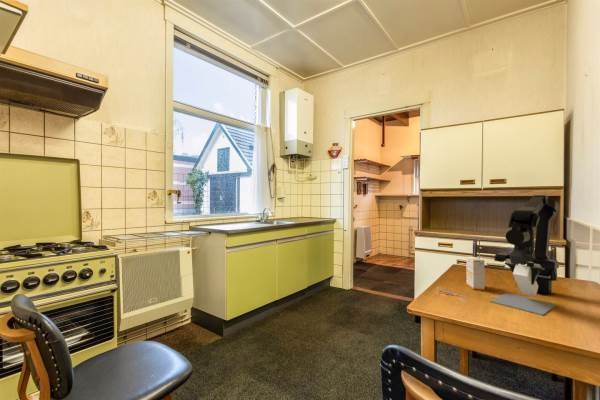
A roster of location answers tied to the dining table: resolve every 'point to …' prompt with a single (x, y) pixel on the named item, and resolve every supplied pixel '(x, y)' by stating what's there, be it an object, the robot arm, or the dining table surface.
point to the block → (525, 280)
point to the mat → (524, 303)
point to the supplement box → (475, 273)
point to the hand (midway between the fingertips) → (524, 283)
